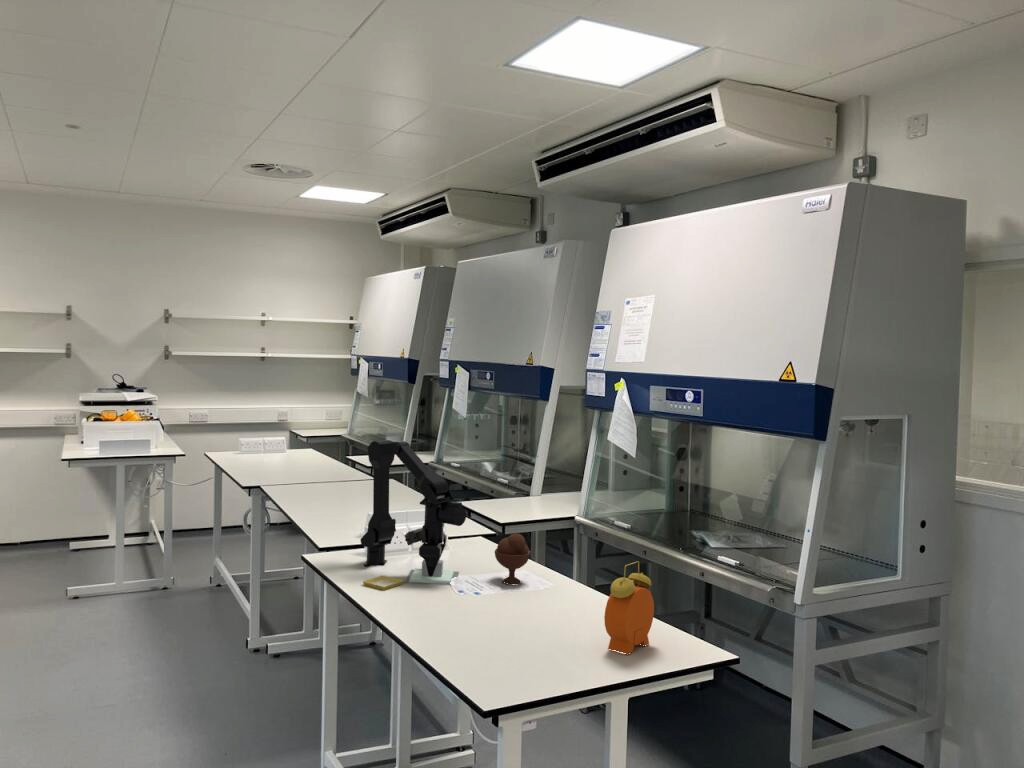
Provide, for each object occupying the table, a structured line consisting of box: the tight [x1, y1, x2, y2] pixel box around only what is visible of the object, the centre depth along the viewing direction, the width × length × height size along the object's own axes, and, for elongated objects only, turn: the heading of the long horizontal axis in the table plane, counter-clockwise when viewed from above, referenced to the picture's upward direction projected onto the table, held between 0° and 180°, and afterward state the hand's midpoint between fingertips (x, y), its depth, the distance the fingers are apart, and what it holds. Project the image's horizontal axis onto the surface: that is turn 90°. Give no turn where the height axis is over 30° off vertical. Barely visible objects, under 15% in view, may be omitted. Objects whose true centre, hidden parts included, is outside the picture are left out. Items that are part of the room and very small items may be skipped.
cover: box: [409, 559, 455, 584], centre depth 238 cm, size 12×12×5 cm
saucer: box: [362, 575, 404, 591], centre depth 229 cm, size 9×9×2 cm
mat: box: [403, 569, 460, 586], centre depth 238 cm, size 15×15×1 cm
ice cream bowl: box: [494, 533, 531, 585], centre depth 238 cm, size 11×11×15 cm
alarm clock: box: [603, 560, 655, 654], centre depth 187 cm, size 13×6×20 cm, turn 141°
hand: (432, 572), depth 238 cm, fingers open, 9 cm apart
